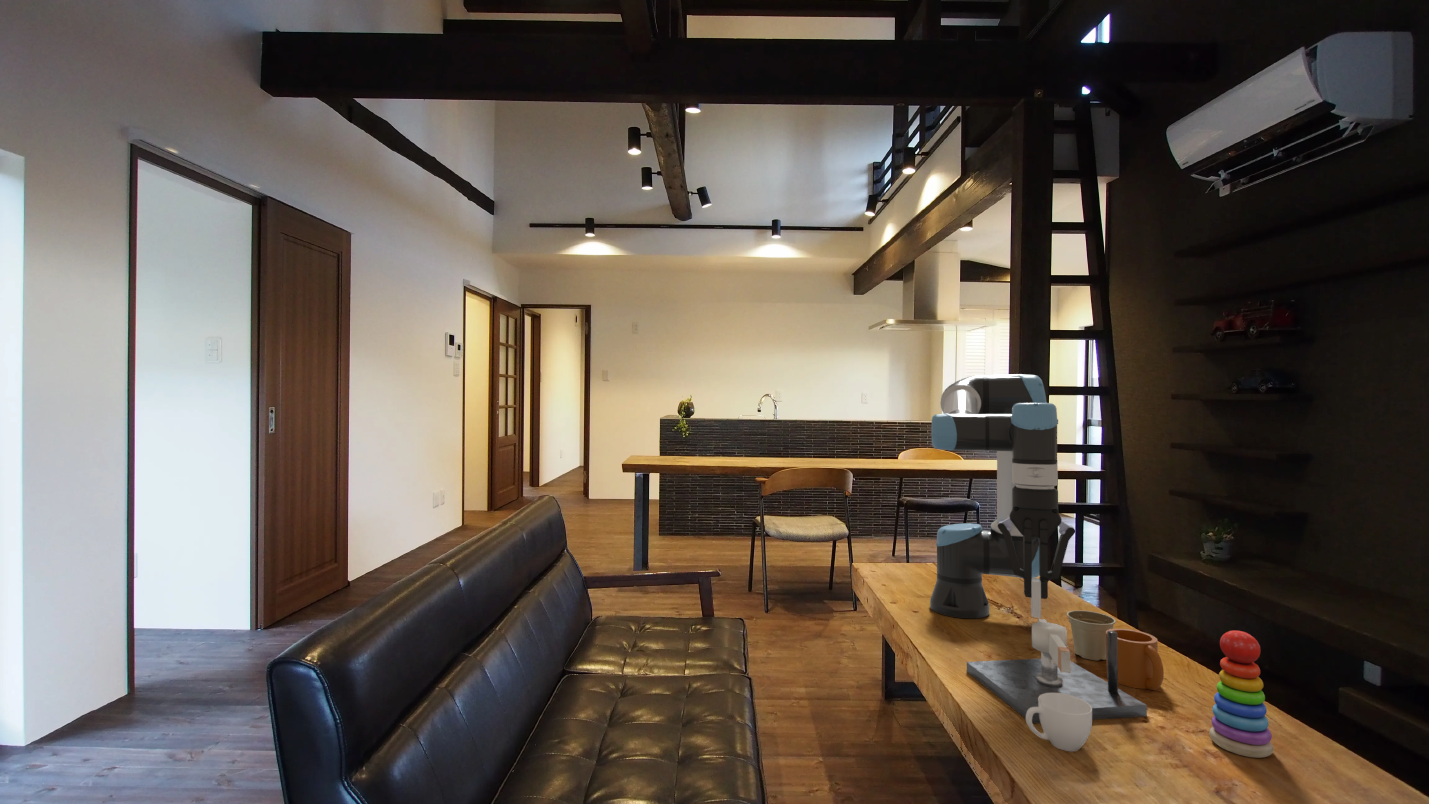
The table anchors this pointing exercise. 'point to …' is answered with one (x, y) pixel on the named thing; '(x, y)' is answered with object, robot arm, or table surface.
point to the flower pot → (1090, 633)
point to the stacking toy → (1240, 699)
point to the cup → (1062, 720)
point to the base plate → (1057, 684)
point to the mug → (1138, 659)
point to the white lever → (1052, 642)
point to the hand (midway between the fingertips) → (1035, 615)
